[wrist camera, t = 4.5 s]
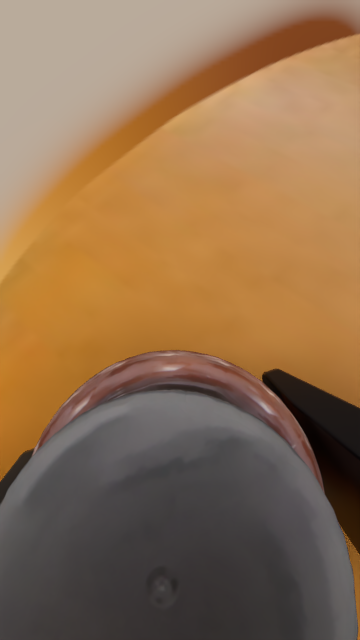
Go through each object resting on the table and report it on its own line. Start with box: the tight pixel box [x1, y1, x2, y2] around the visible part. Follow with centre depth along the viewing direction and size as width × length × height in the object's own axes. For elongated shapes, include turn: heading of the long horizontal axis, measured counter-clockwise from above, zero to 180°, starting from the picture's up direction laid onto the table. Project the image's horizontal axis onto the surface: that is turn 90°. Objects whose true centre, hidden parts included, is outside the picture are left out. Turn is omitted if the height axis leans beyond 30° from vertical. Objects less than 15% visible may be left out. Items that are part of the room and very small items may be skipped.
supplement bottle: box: [0, 350, 358, 640], centre depth 8 cm, size 6×6×11 cm
